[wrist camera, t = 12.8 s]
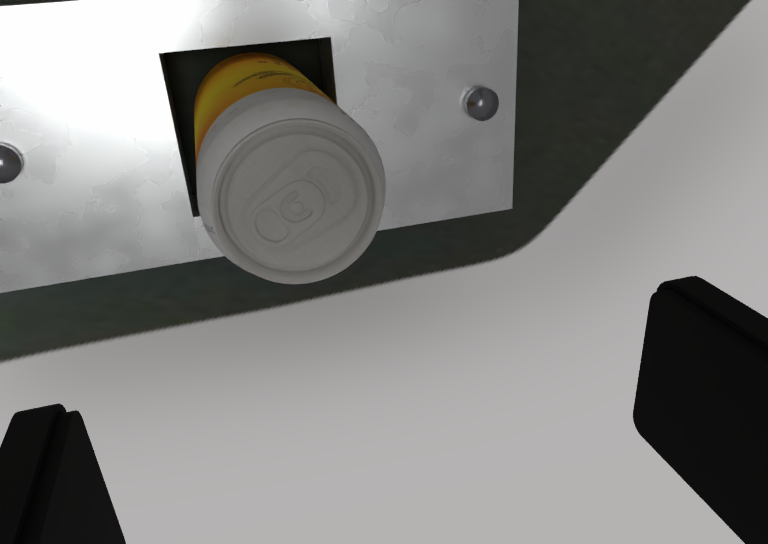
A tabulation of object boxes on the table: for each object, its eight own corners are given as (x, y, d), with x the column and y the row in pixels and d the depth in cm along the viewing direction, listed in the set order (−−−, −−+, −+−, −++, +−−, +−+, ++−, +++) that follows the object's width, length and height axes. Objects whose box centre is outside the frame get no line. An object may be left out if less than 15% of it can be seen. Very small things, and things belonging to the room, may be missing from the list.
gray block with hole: (488, -32, 32) (525, -33, 29) (486, 189, 38) (517, 212, 34) (-75, 10, 27) (-115, 15, 23) (15, 263, 32) (-6, 299, 29)
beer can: (336, 124, 34) (429, 219, 21) (246, 192, 34) (282, 329, 21) (265, 24, 31) (322, 62, 18) (167, 100, 31) (152, 192, 18)
